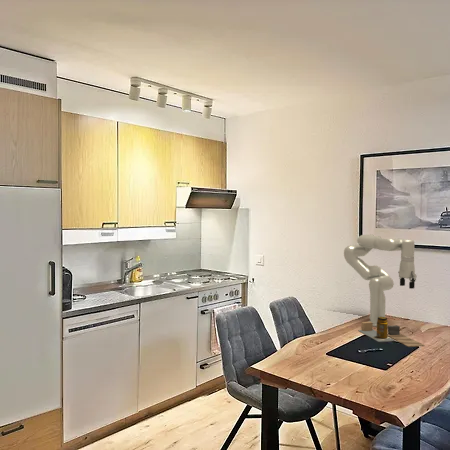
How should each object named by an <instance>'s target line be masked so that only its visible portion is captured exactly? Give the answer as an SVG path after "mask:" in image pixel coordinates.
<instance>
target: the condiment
mask: <svg viewBox="0 0 450 450" xmlns="http://www.w3.org/2000/svg"><path fill="white" fill-rule="evenodd" d="M388 326H389V325H388V318H387V317H386V316H385V317H378V320H377V326H376V331H377V336H374V337H372V338H375V339H380V340H385V339H388V338H390V337H388V336H387V334H388ZM372 338H371V339H372Z"/></svg>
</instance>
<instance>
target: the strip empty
mask: <svg viewBox="0 0 450 450" xmlns="http://www.w3.org/2000/svg"><path fill="white" fill-rule="evenodd" d="M400 327H401V326H399V325H388V330H387V337H390V338H391V339H393V340H394V341H396V342H397V343H400V344H402V345H404V346H405V347H407V348H414V347H415V348H416V347H425V344H423V343H421V342H419V341H417V340H416V339H413V338H411V337H408V336H407V335H404V334H402V333H400V332H401V331H400V330H401V328H400Z"/></svg>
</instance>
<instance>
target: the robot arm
mask: <svg viewBox="0 0 450 450" xmlns="http://www.w3.org/2000/svg"><path fill="white" fill-rule="evenodd" d="M356 242H357V244H350V245H347V246H346V247H345V248H344V250H343V256H344V259H345V261H346V263H347V264H348V265H349V266H350V267H351V268H353V270H354V271H355V272H356V273H357V274H358V275H359V276H360V278H362V279H364V280H365V281H369V283H368V288H369V294H370V295H369V297H370V298H369V301H370V306H369V308H370V309H369V316H368V319H369V320H368V321H367V322H372V323H373V327H377V320H378V317H386V296H385V291H389V290H392V289H393V287H394V285H395V283H394V280H393V278H392V277H391V276H390V275H389V274H388V273H387V272H386V271H385V270H384V269H383V268H382V267H380V266H378V265H369V264H367V263H366V262H365V261H364V260H363V259H361V258H360V257H365V256H366V255H367V254H369V252H371V251H372V250H375V249H376V250H378V251H379V250H380V251H388V252H396V251H397V252H398V251H400V262H399V270H398V277H399V278H398V279H399V286H400V287H403V286H404V287H405V286H406V279H408V280H409V283H408V284H409V285H408V287H409V289H411V290H412V289H413V290H414V289H415V283H416V281H417V276H418V275H417V274H416V269H415V241H414V240H413V239H404V238H383V237H381V236H380V235H375V234H371V233H369V234H361V235H359V236H358V238H357V239H356Z"/></svg>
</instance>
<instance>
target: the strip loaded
mask: <svg viewBox="0 0 450 450" xmlns="http://www.w3.org/2000/svg"><path fill="white" fill-rule="evenodd" d="M360 326H361V327H360V328H361V329H358V332H360V333H361V334H363V335H365V336H367V337H369V338H370V339H373V340H374V341H376V342H377V343H385V342H387V343H388V342H395V340H394V339H392V338H388V339H385V340H380V339H375V338H372V337H374V336H377V330H375V329H373V327H374V326H373V323H372V322H368V321H361V325H360Z"/></svg>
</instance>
